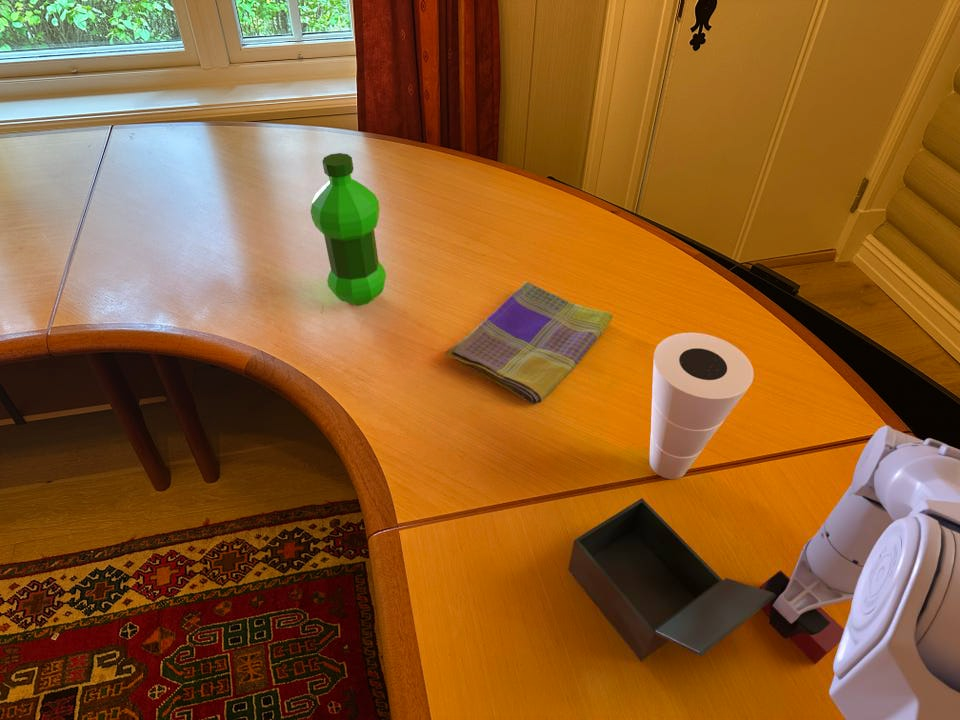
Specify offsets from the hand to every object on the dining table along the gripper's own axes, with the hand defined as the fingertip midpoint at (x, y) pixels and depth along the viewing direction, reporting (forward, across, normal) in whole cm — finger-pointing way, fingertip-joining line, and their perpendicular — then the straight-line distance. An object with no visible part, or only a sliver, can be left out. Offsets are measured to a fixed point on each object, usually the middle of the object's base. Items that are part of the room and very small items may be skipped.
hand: (802, 608), depth 62 cm
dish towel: (+3, +3, +51) cm, 51 cm away
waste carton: (+3, -12, +12) cm, 17 cm away
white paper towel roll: (+3, +4, +22) cm, 23 cm away
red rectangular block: (+3, 0, 0) cm, 3 cm away
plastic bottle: (+3, -15, +77) cm, 79 cm away
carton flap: (-6, -12, +4) cm, 14 cm away
